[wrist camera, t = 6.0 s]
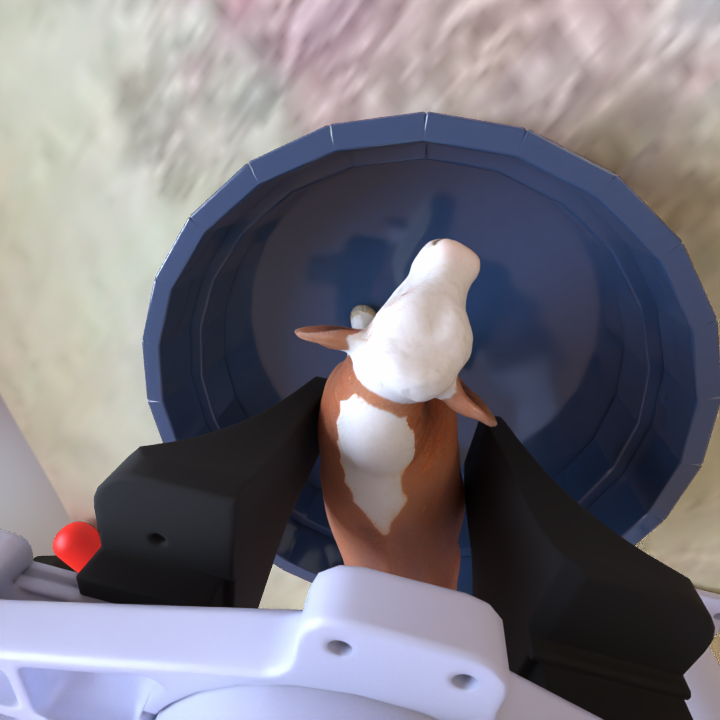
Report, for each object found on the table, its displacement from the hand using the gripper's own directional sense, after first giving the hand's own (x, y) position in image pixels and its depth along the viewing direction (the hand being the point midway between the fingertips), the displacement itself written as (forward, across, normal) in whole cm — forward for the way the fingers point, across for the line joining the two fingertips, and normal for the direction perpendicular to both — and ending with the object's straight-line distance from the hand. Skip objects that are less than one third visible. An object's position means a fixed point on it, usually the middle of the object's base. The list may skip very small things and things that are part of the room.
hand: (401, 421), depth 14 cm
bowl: (+4, 0, 0) cm, 4 cm away
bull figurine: (+3, 0, 0) cm, 4 cm away
